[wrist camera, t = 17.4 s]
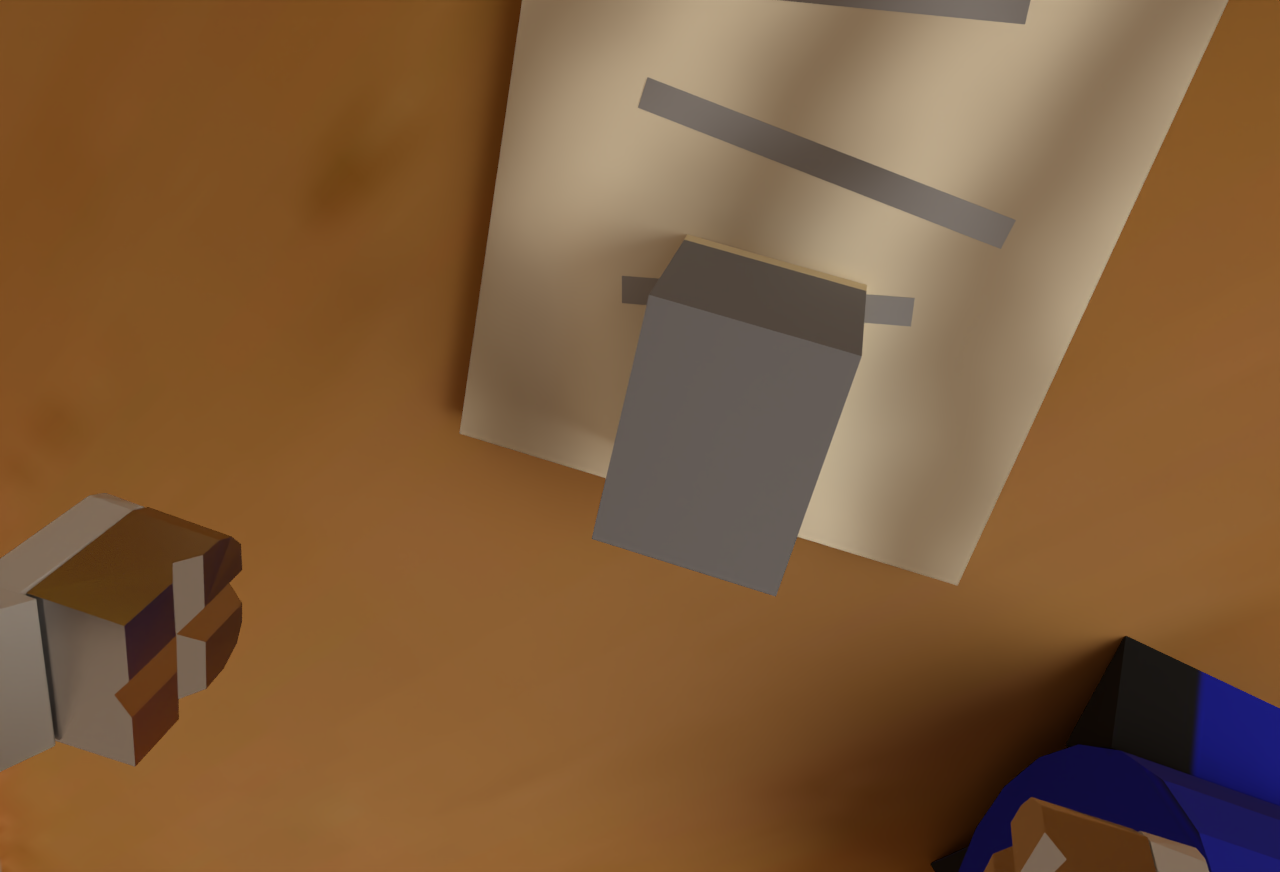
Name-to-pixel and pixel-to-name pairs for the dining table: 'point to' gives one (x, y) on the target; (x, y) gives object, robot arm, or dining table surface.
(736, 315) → the block
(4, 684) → the robot arm
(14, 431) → the dining table surface
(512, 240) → the board
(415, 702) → the dining table surface
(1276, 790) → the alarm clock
